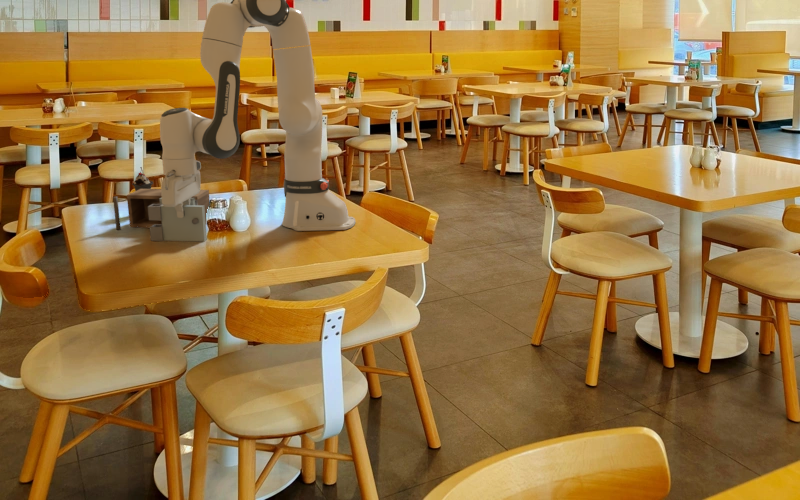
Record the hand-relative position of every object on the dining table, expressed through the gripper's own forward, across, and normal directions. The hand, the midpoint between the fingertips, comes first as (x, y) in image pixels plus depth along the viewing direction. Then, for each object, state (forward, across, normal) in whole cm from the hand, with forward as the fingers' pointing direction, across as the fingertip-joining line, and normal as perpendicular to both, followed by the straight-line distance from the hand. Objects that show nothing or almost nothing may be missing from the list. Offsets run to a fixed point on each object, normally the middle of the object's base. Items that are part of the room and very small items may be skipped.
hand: (183, 215), depth 222 cm
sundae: (+7, +32, +26) cm, 42 cm away
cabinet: (+7, +15, +13) cm, 21 cm away
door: (+7, 0, +2) cm, 7 cm away
